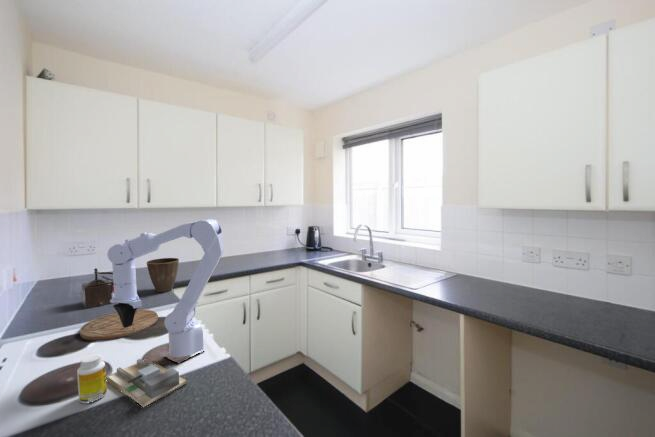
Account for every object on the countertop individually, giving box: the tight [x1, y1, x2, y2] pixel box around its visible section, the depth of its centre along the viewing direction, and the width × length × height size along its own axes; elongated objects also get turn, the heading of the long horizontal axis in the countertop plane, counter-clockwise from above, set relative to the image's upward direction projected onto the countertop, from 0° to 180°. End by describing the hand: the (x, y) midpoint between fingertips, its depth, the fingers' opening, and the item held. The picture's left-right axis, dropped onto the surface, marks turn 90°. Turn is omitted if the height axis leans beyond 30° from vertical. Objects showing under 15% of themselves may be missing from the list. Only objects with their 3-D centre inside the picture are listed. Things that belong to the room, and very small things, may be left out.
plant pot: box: [146, 257, 180, 293], centre depth 163 cm, size 15×15×16 cm
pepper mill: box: [81, 267, 113, 310], centre depth 145 cm, size 16×11×18 cm
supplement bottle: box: [76, 353, 108, 404], centre depth 77 cm, size 6×6×10 cm
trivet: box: [79, 309, 159, 342], centre depth 120 cm, size 25×25×2 cm
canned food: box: [100, 275, 114, 292], centre depth 166 cm, size 11×10×10 cm
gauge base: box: [106, 358, 187, 408], centre depth 83 cm, size 11×20×4 cm, turn 56°
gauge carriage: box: [128, 364, 160, 383], centre depth 80 cm, size 7×4×3 cm, turn 146°
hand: (127, 326), depth 94 cm, fingers closed
